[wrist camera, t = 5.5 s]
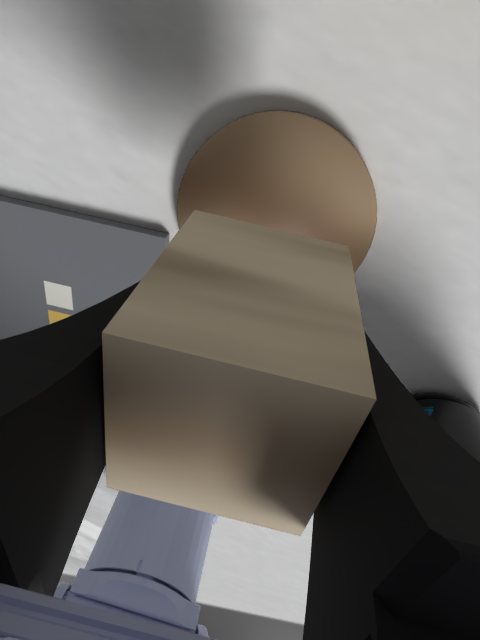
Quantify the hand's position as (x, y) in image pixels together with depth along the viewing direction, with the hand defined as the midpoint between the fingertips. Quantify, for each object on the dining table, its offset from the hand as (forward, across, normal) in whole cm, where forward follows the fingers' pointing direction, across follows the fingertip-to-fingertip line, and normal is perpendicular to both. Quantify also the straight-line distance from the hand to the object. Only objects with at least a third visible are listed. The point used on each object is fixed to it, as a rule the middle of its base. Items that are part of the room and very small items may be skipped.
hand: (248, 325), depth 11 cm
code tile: (+9, +11, +8) cm, 16 cm away
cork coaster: (+9, 0, 0) cm, 9 cm away
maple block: (+2, 0, 0) cm, 2 cm away
